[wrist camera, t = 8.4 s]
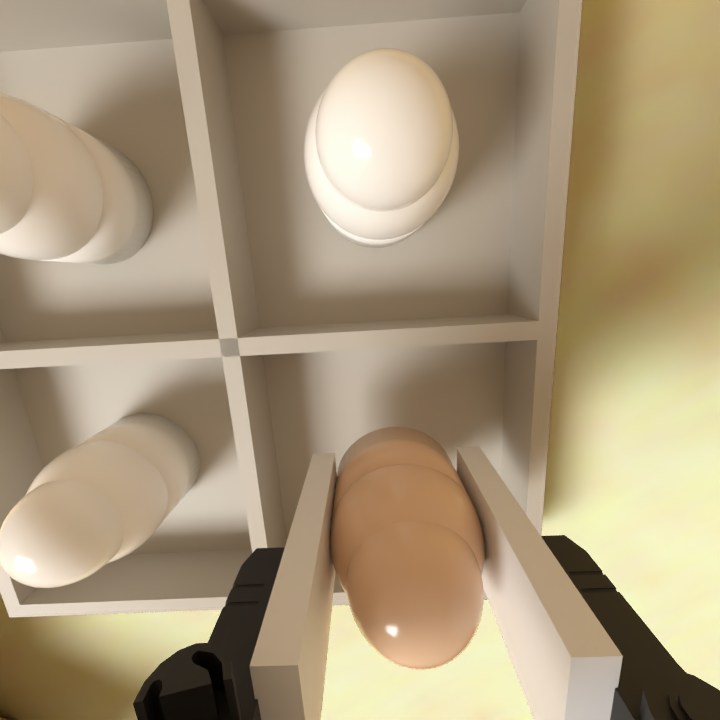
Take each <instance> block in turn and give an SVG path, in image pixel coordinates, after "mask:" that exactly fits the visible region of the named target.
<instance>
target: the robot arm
mask: <svg viewBox="0 0 720 720" xmlns="http://www.w3.org/2000/svg"><path fill="white" fill-rule="evenodd" d="M457 474H458V476H459V478H460V480H461V482H462V484H463V486H464V488H465V490H466V491H467V493H468V495H469V497H470V499H471V501H472V504H473V505H474V507H475V509H476V512H477V514H478V517H479V520H480V522H481V526H482V531H483V536H484V546H485V559H484V567H483V572H482V580H483V588H484V591H485V593H486V596H487V598H488V601H489V604H490V606H491V609H492V611H493V614H494V617H495V619H496V622H497V625H498V627H499V630H500V632H501V635H502V638H503V640H504V643H505V645H506V648H507V651H508V653H509V656H510V658H511V661H512V664H513V666H514V669H515V672H516V674H517V677H518V679H519V682H520V685H521V687H522V690H523V692H524V695H525V698H526V700H527V703H528V705H529V708H530V711H531V713H532V716H533V718H534V720H720V691H719V690H718V689H717V688H715V687H713V686H711V685H710V684H708V683H706V682H704V681H703V680H701V679H699V678H697V677H696V676H694V675H690V674H687V673H686V672H685V671H684V670H683V669H682V668H681V667H680V666H679V665H678V664H677V662H676V661H675V660H674V659H673V658H672V656H671V655H670V654H669V653H668V651H667V650H666V649H665V648H664V647H663V645H662V644H661V643H660V642H659V640H658V639H657V638H656V637H655V635H654V634H653V633H652V632H651V631H650V629H649V628H648V627H647V626H646V624H645V623H644V622H643V621H642V619H641V618H640V617H639V616H638V615H637V613H636V612H635V611H634V610H633V608H632V607H631V606H630V605H629V603H628V602H627V601H626V600H625V599H624V597H623V596H622V595H621V594H620V592H617V591H616V587H615V586H614V585H613V584H612V583H611V581H610V580H609V579H608V578H607V576H606V575H603V573H602V570H601V569H600V568H599V567H598V565H597V564H596V563H595V562H594V560H593V559H592V558H591V557H590V555H589V554H588V553H587V552H586V551H585V550H584V549H582V548H581V547H580V546H578V545H577V544H576V543H574V542H573V541H572V540H570V539H569V538H567V537H566V536H565V535H559V536H540V534H539V533H538V531H537V530H536V528H535V527H534V526H533V524H532V523H531V521H530V520H529V518H528V517H527V515H526V514H525V512H524V511H523V509H522V508H521V506H520V505H519V504H518V502H517V501H516V499H515V498H514V496H513V495H512V493H511V492H510V490H509V489H508V487H507V486H506V485H505V483H504V482H503V480H502V479H501V477H500V476H499V474H498V473H497V471H496V470H495V468H494V467H493V466H492V464H491V463H490V461H489V460H488V458H487V457H486V455H485V454H484V452H483V451H482V449H481V448H480V447H457ZM336 478H337V473H336V461H335V453H324V454H313V455H312V459H311V462H310V465H309V469H308V472H307V475H306V479H305V482H304V485H303V489H302V492H301V495H300V499H299V502H298V505H297V509H296V512H295V515H294V519H293V522H292V526H291V529H290V532H289V536H288V539H287V542H286V546H285V547H277V548H256V550H255V551H254V552H253V553H252V554H251V555H250V556H249V557H248V558H247V560H246V561H245V562H244V563H243V564H242V565H241V567H240V570H239V572H238V574H237V577H236V579H235V581H234V584H233V588H232V589H231V591H230V593H229V595H228V597H227V600H226V602H225V607H223V609H222V611H221V614H220V616H219V618H218V621H217V623H216V625H215V628H214V630H213V632H212V634H211V637H210V639H209V641H208V643H198V644H194V645H191V646H189V647H186V648H184V649H181V650H179V651H177V652H176V653H175V654H173V655H172V656H170V657H169V658H168V659H166V660H165V661H164V662H162V663H161V664H160V665H159V666H158V667H157V668H156V670H155V671H154V672H153V673H152V674H151V675H150V676H149V677H148V679H147V680H146V681H145V682H144V684H143V686H142V688H141V690H140V691H139V693H138V695H137V697H136V699H135V701H134V703H133V705H134V708H135V712H136V715H137V719H138V720H320V719H321V710H322V700H323V690H324V680H325V670H326V660H327V650H328V640H329V630H330V621H331V611H332V601H333V591H334V581H335V569H334V566H333V562H332V556H331V549H330V531H331V524H332V523H331V522H332V514H333V505H334V496H335V487H336Z"/></svg>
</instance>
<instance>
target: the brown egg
mask: <svg viewBox="0 0 720 720" xmlns="http://www.w3.org/2000/svg"><path fill="white" fill-rule="evenodd" d="M331 523H332V524H331V531H330V549H331V556H332V562H333V566H334V569H335V572H336V575H337V578H338V580H339V582H340V584H341V586H342V588H343V590H344V592H345V593H346V595H347V596H348V601H349V606H350V609H351V612H352V615H353V618H354V620H355V622H356V624H357V626H358V628H359V630H360V632H361V634H362V635H363V636H364V638H365V639H366V640H367V642H368V643H369V644H370V645H371V646H372V647H373V648H374V650H376V651H377V652H378V653H379V654H380V655H382V656H383V657H384V658H386V659H387V660H389V661H391V662H393V663H395V664H397V665H399V666H402V667H405V668H409V669H417V670H424V669H432V668H436V667H439V666H442V665H445V664H447V663H449V662H450V661H452V660H454V659H455V658H456V657H457V656H458V655H460V654H461V653H462V652H463V651H464V650H465V649H466V647H467V646H468V645H469V643H470V642H471V640H472V639H473V637H474V635H475V633H476V631H477V629H478V626H479V623H480V620H481V616H482V610H483V602H484V589H483V580H482V572H483V567H484V559H485V546H484V536H483V531H482V526H481V522H480V520H479V517H478V514H477V512H476V509H475V507H474V505H473V504H472V501H471V499H470V497H469V495H468V493H467V491H466V490H465V488H464V486H463V484H462V482H461V480H460V478H459V476H458V474H457V472H456V470H455V468H454V466H453V464H452V462H451V460H450V458H449V457H448V455H447V453H446V451H445V450H444V449H443V447H442V446H441V445H440V444H439V443H438V442H437V441H436V440H434V439H433V438H432V437H430V436H429V435H427V434H425V433H423V432H421V431H418V430H415V429H411V428H406V427H387V428H382V429H378V430H375V431H372V432H370V433H368V434H366V435H364V436H362V437H361V438H359V439H358V440H357V441H355V442H354V443H353V444H352V445H351V446H350V447H349V448H348V450H347V451H346V452H345V454H344V455H343V457H342V459H341V461H340V463H339V467H338V470H337V478H336V487H335V496H334V505H333V514H332V522H331Z"/></svg>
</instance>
